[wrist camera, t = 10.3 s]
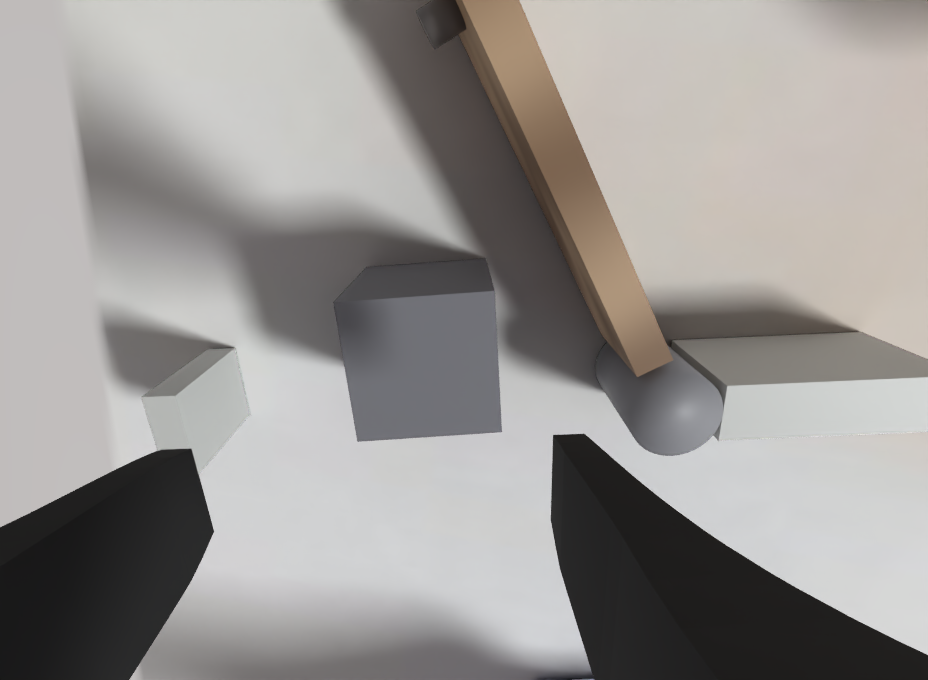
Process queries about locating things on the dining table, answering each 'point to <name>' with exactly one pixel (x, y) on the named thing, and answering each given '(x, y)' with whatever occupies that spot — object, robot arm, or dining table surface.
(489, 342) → the block
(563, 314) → the dining table surface
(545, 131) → the door
